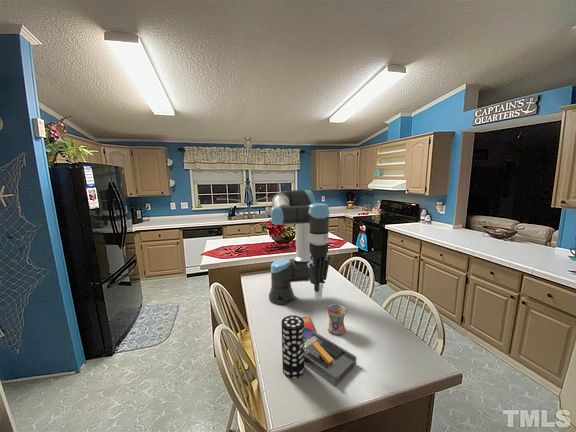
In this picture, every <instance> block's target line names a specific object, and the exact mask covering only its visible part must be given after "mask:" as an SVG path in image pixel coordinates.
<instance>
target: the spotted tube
mask: <svg viewBox="0 0 576 432" xmlns="http://www.w3.org/2000/svg"><path fill="white" fill-rule="evenodd" d="M304 339H305V338H304V320H303V319H302V317H301V316H298V315H290V314H289V315H286V316H285V317H283V318H282V320H281V354H282V355H281V357H282V358H281V362H282V373H283V375H284V376H285V377H287V378H290V379H298V378H300V377H302V376H303V375H304V373H305V364H304Z"/></svg>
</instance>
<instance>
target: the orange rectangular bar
mask: <svg viewBox="0 0 576 432" xmlns="http://www.w3.org/2000/svg"><path fill="white" fill-rule="evenodd" d="M312 347H313V348H314V349H315V350H316V352H317V353H318V354H319V355H320V356H321V357H322V358H323V359H324V360H325V362H326V363H327V364H328V365H329V364H330V363H331V362H332V360H333V358H332V357H331V356H330V355H329V354H328V353H327V352H326V351H325V350H324V349H323V348H322V347H321V346H320V345H319V343H318V342H317V341H315V342H314V343H313V344H312Z"/></svg>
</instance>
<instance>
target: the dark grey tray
mask: <svg viewBox="0 0 576 432" xmlns="http://www.w3.org/2000/svg"><path fill="white" fill-rule="evenodd" d="M315 341H317V342H318V343H319V345H320V346H321V347H322V348H323V349H324V350H325V351H326V352H327V353H328V354H329V355H330V356H331V357H332V358H333V360H332V362H331V363H330V364H329V365H328V364H327V363H326V362H325V360H324V359H323V358H322V357H321V356H320V355H319V354H318V353H317V352H316V350H315V349H314V348H313V347H312V344H313V343H314V342H315ZM304 365H306V366H307V367H308V368H310V369H311V370H312V371H314V373H316V374H318V375H319V376H320V377H322V379H325V380H326V381H327V382H329V383H330V384H331V385H333V386H334V387H336V386H337V385H338V384H339V383H340V382H341V381H342V380H343V379H344V378H345V377H346V376H347V375H348V374H349V373H350V371H352V370H353V369H354V367H356V365H357V356H356V355H355V354H353V353H351V352H349V351H348V350H347V349H344V348H342V347H341V346H340V345H338V344H336V343H334V342H332V341H331V340H329V339H328V338H327V337H324V336H322V335H321V334H319V333H317V331H316V332H314V331H312V334H311V335H309V336H308V337H307V338H304Z"/></svg>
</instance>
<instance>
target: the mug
mask: <svg viewBox="0 0 576 432" xmlns="http://www.w3.org/2000/svg"><path fill="white" fill-rule="evenodd" d="M326 312H327V314H328V324H327V326H326V327H327V330H328V332H329V333H331V334H333V335H342V334H343V333H345V331H346V327H345V324H344V322H345V316H346V314H347V308H346V307H345V306H343V305H342V304H334V303H333V304H330V305H328V306H327V307H326Z"/></svg>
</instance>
